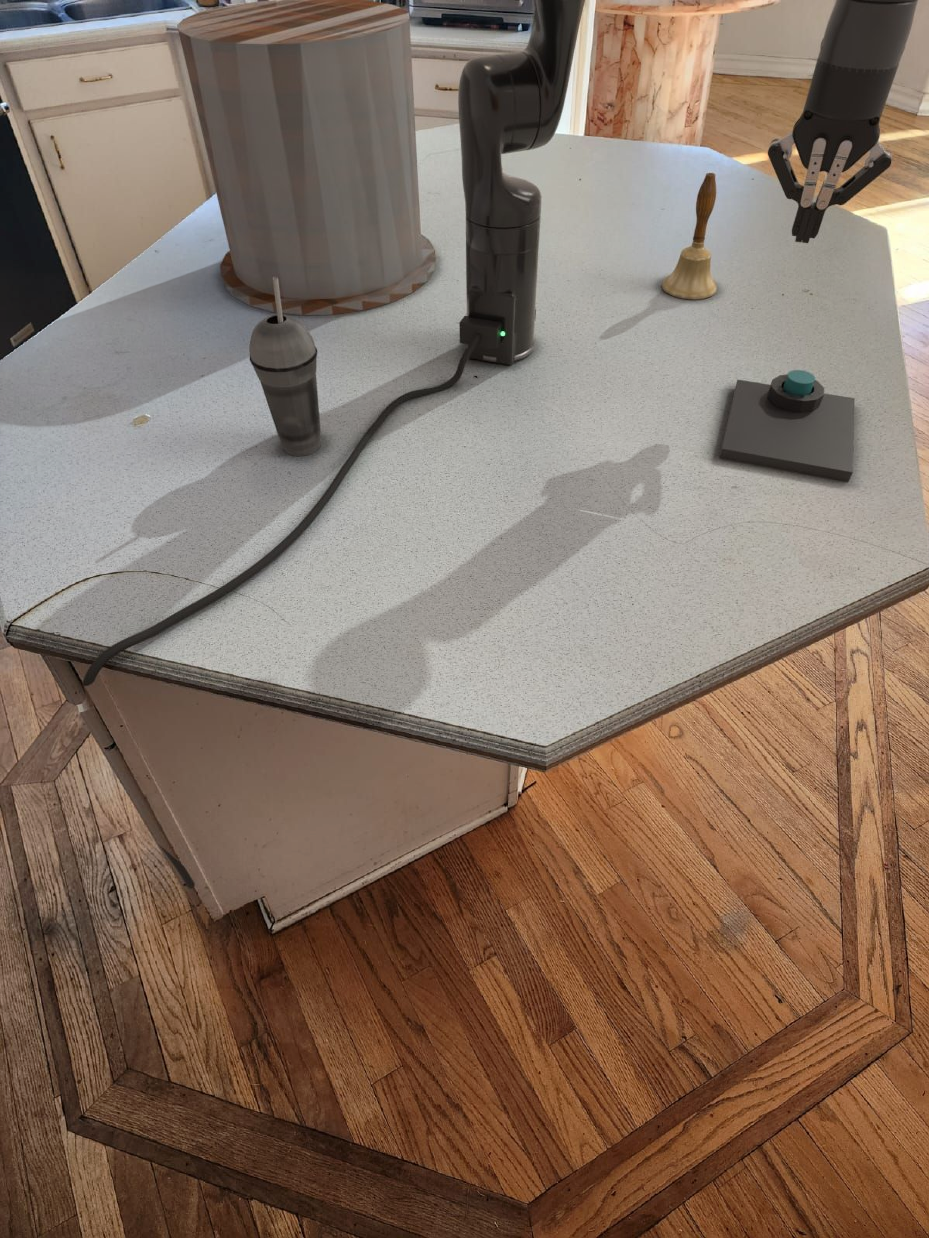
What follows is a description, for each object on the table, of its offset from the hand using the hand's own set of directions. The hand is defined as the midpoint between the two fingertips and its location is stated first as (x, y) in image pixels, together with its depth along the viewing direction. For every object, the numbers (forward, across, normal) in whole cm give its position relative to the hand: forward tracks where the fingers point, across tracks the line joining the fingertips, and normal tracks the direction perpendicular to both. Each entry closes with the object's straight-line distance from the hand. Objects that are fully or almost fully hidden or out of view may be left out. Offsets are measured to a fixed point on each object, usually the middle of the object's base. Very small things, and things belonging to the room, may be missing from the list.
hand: (802, 240), depth 87 cm
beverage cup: (+17, -50, -34) cm, 63 cm away
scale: (+17, +4, -13) cm, 22 cm away
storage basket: (+18, -70, +13) cm, 73 cm away
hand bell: (+18, -13, +23) cm, 32 cm away
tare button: (+14, +4, -7) cm, 16 cm away
